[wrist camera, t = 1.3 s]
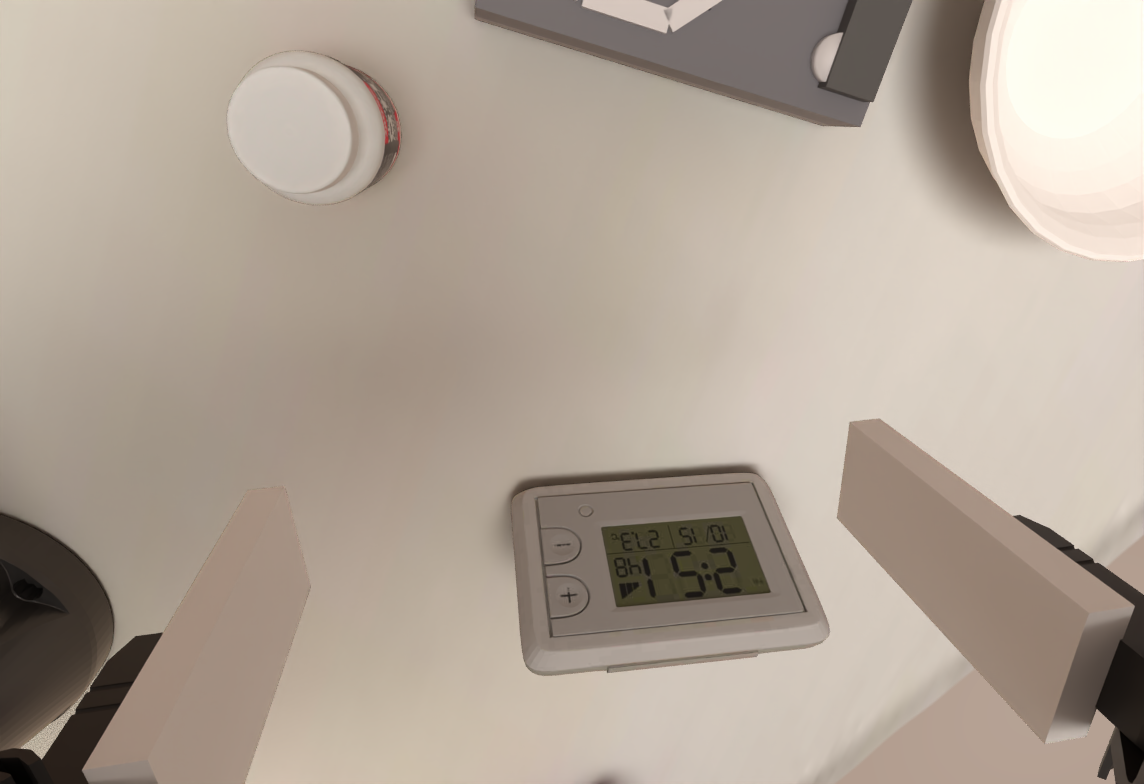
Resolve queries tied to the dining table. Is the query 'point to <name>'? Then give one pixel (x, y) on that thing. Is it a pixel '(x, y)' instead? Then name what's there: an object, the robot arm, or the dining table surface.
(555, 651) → the digital clock
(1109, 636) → the robot arm
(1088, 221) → the bowl
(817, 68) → the octagonal hole plate
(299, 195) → the pill bottle
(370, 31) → the dining table surface
